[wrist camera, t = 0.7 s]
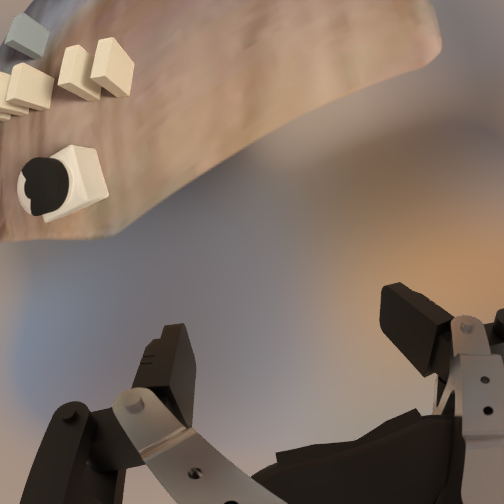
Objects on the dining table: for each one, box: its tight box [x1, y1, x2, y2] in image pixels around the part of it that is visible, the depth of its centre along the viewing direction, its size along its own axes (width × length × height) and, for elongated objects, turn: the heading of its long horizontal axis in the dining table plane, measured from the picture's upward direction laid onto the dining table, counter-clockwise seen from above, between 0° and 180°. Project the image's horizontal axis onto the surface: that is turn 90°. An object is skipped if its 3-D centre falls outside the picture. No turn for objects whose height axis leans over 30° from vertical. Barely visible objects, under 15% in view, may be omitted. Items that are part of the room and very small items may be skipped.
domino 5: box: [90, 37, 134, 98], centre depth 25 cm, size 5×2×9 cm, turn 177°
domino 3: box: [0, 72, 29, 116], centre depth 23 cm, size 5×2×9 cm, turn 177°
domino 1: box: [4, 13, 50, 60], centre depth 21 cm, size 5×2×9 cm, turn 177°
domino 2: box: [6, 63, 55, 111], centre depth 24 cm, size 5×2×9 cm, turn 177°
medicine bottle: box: [17, 145, 109, 223], centre depth 27 cm, size 7×7×12 cm
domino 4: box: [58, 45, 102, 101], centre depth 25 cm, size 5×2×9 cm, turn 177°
